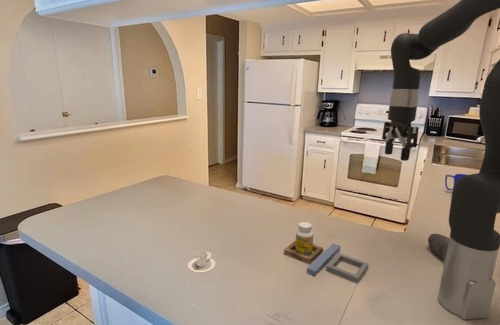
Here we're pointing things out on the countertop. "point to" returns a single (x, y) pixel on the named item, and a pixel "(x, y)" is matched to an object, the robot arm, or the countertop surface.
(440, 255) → the perforated stone tool
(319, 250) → the holder
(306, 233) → the supplement bottle
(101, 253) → the countertop surface
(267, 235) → the countertop surface
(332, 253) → the door sill
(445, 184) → the mug
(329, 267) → the holder open
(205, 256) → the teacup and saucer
